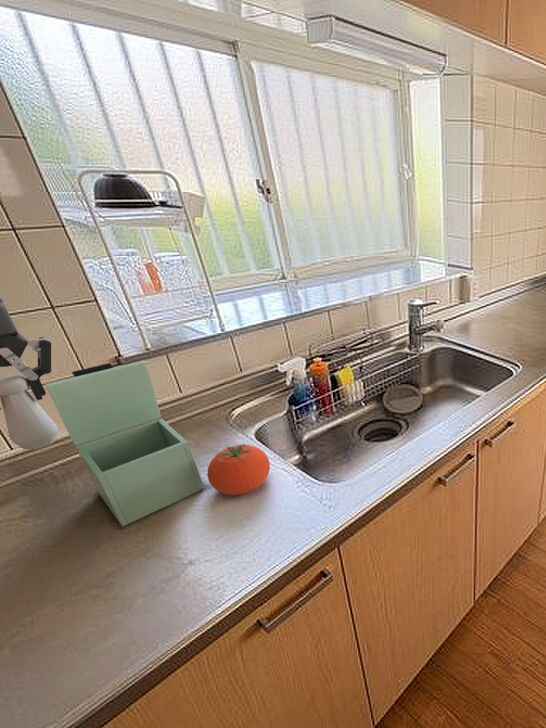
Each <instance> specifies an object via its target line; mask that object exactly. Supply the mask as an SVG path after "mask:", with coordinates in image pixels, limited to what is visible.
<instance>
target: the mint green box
mask: <svg viewBox="0 0 546 728" xmlns="http://www.w3.org/2000/svg"><path fill="white" fill-rule="evenodd" d="M75 449H76V451H77V453H78V454H79V457H80V459H81V461H82V463H83V465H84V467H85V469H86V471H87V472H88V475H89V477H90V479H91V480H92V482H93V484H94V486H95V488H96V490H97V492H98V494H99V496H100V498H101V499H102V500H103V501H104V503H105V504H106V506H107V507H108V508H109V510H110V511H111V513H112V514H113V516H114V517H115V518H116V520H117V521H118V522H119V525H120V526H121V527H124V526H127V525H128V524H131V523H133V522H136V521H137V520H140V519H142V518H144V517H146V516H149V515H151V514H152V513H154V512H157V511H159V510H162V509H163V508H166V507H167V506H170V505H172V504H174V503H176V502H179V501H180V500H182V499H184V498H187V497H189V496H191V495H193V494H195V493H197V492H198V493H199V492H200V491H202V490H204V489H205V486H204V483H203V480H202V478H201V475H200V471H199V470H198V466H197V464H196V461H195V458H194V456H193V453H192V450H191V447H190V445H189V442H188V441H187V440H186V439H185V438H184V437H183V436H182V435H181V434H179V433H178V432H177V431H176V430H175V429H174V428H173V427H171V426H170V425H169V424H168V423H167V422H166V421H165V420H164V419H163V418H158V419H154V420H151V421H148V422H145V423H142V424H139V425H136V426H133V427H130V428H127V429H124V430H121V431H118V432H115V433H112V434H109V435H106V436H103V437H100V438H97V439H94V440H91V441H88V442H85V443H82V444H79V445H76V446H75Z"/></svg>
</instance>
